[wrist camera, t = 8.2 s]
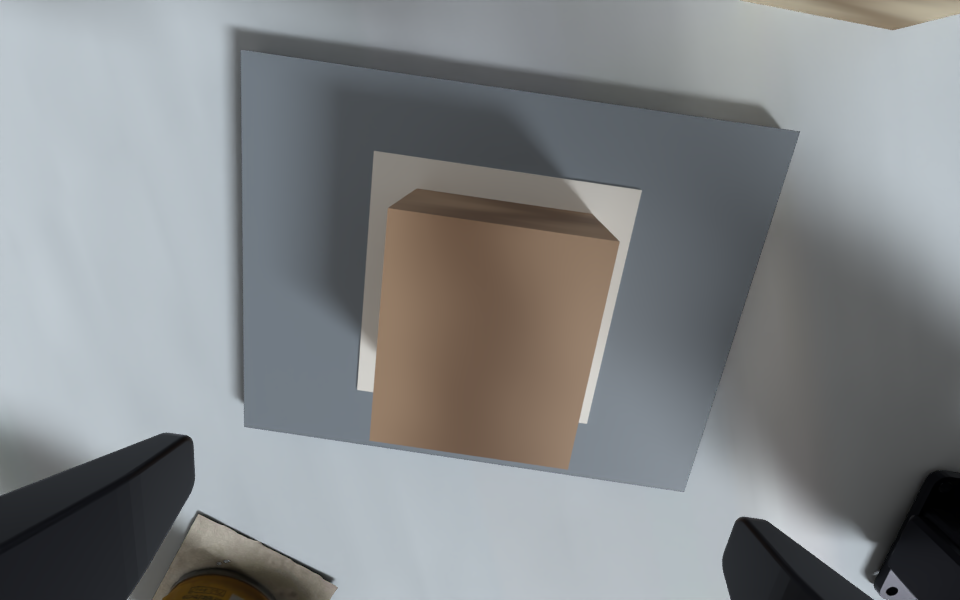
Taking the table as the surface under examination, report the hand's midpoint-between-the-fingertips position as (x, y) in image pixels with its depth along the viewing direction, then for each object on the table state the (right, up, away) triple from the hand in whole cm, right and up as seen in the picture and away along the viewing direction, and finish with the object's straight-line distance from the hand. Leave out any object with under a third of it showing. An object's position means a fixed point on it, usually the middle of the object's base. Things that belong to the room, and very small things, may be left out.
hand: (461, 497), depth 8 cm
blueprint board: (+1, +4, +11) cm, 12 cm away
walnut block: (+1, +3, +10) cm, 11 cm away
